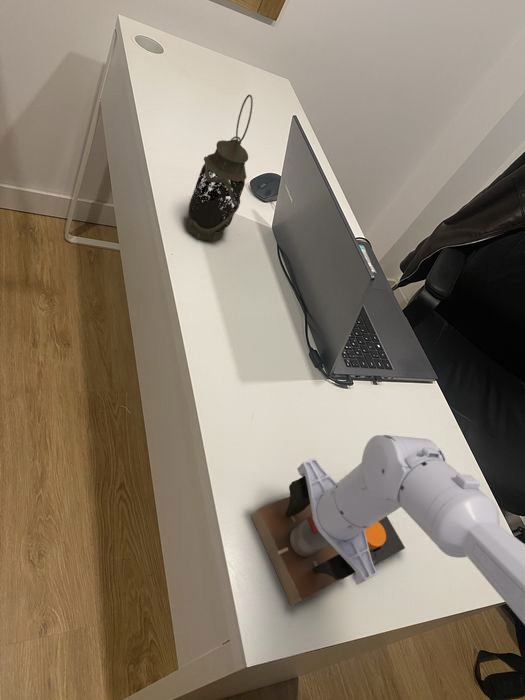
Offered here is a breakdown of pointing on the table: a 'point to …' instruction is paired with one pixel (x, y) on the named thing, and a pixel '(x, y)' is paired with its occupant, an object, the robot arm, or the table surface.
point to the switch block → (387, 543)
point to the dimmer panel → (291, 551)
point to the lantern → (226, 166)
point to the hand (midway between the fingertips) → (305, 539)
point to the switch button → (375, 536)
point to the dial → (307, 538)
